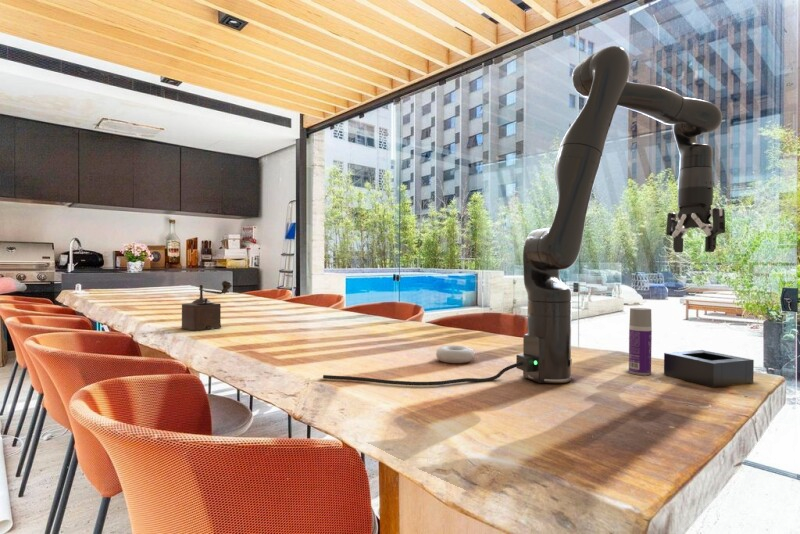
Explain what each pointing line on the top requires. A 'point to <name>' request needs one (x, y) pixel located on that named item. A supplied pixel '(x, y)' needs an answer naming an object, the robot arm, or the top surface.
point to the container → (640, 341)
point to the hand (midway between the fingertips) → (693, 252)
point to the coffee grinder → (203, 311)
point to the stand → (709, 368)
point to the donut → (455, 354)
